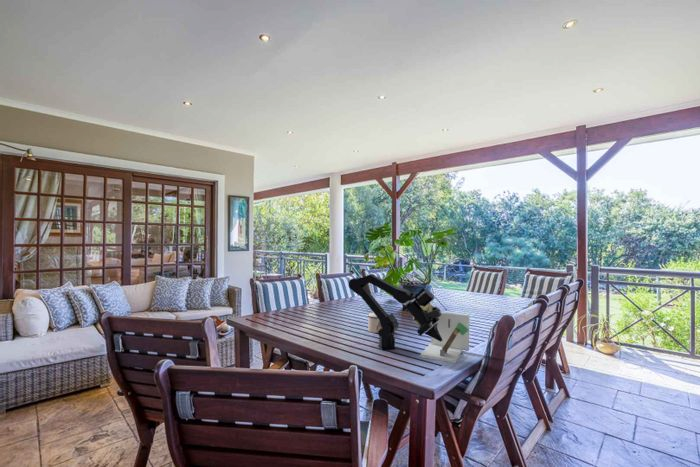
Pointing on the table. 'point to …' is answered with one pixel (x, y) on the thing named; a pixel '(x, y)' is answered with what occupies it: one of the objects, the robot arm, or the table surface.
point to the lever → (451, 339)
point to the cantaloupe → (427, 307)
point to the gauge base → (445, 329)
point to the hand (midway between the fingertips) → (441, 340)
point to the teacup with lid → (373, 323)
